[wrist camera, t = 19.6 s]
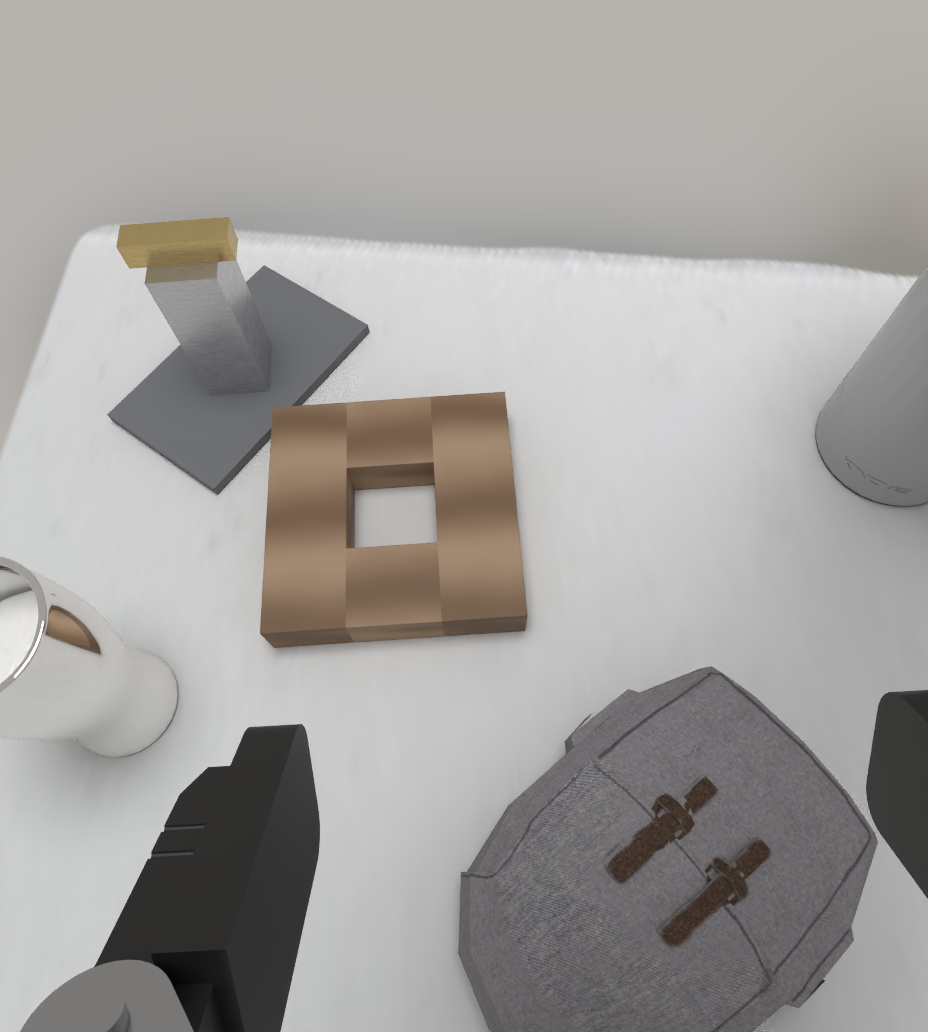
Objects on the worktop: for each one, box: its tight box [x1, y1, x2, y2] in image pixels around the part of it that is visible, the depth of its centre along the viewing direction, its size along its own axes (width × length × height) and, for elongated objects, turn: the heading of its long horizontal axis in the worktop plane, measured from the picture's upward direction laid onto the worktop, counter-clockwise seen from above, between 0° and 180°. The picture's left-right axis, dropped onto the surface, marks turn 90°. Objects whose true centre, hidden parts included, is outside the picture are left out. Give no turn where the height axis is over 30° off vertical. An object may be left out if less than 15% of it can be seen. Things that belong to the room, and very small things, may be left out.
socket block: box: [260, 392, 527, 648], centre depth 47 cm, size 15×15×3 cm
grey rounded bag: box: [458, 667, 878, 1032], centre depth 36 cm, size 15×8×20 cm
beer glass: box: [0, 557, 178, 757], centre depth 37 cm, size 7×7×15 cm
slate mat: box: [108, 266, 369, 495], centre depth 53 cm, size 16×10×1 cm, turn 145°
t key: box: [117, 217, 272, 396], centre depth 47 cm, size 6×4×13 cm, turn 94°
